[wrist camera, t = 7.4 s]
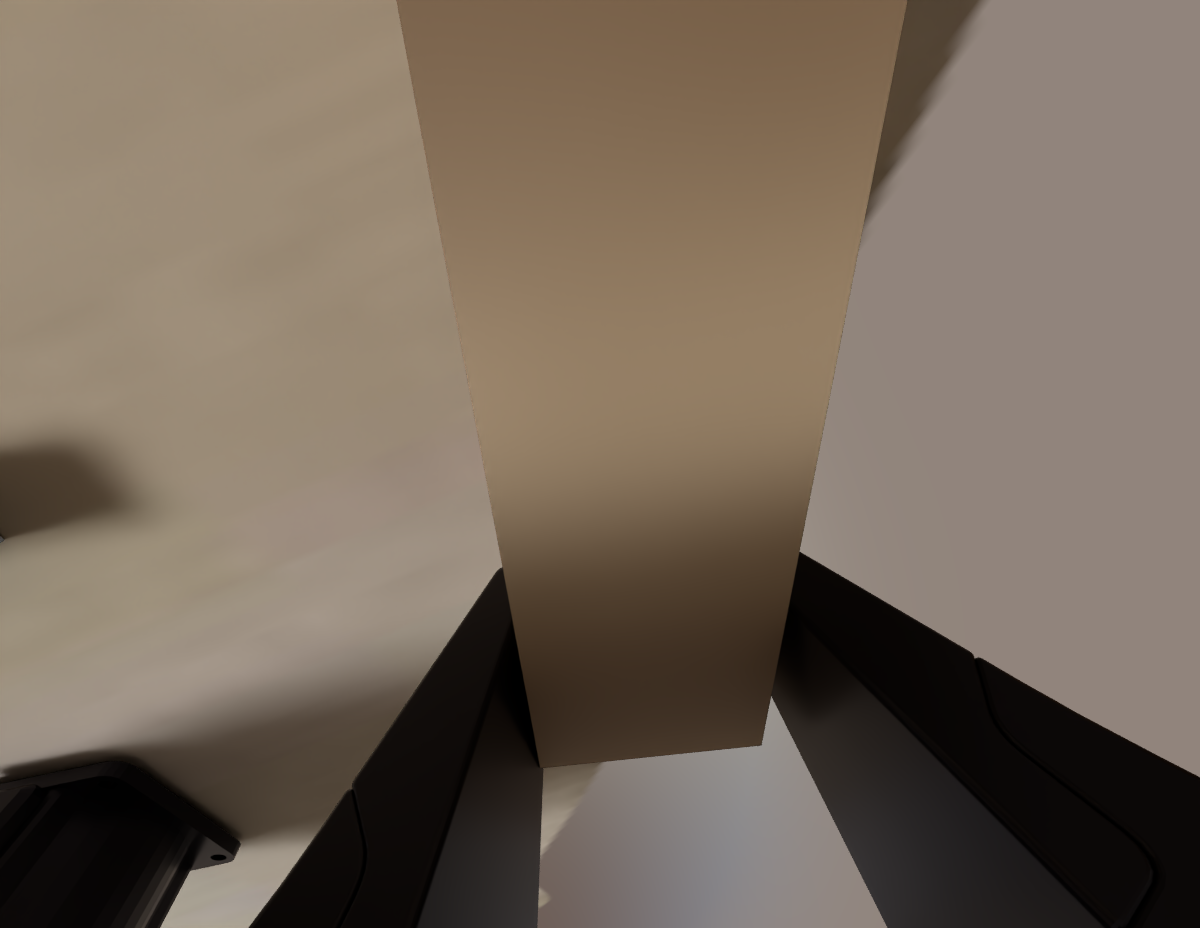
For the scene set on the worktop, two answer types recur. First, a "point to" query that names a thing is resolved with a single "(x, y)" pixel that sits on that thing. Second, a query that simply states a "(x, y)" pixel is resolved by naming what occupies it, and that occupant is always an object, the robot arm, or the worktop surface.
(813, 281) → the wooden l-shaped bracket
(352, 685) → the worktop surface
